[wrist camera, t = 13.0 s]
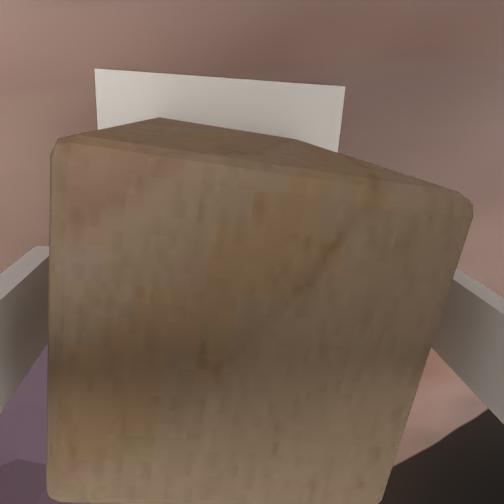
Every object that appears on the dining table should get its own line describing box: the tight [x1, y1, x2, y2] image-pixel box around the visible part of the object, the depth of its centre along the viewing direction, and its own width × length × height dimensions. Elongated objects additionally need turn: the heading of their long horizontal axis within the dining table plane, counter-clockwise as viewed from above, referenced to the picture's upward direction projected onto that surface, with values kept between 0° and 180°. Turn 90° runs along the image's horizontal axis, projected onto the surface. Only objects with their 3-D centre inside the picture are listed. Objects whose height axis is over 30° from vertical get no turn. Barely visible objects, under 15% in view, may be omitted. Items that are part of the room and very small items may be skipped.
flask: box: [0, 344, 90, 504], centre depth 27 cm, size 16×16×20 cm
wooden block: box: [46, 117, 473, 504], centre depth 20 cm, size 10×10×20 cm
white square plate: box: [95, 69, 345, 153], centre depth 31 cm, size 16×16×3 cm
